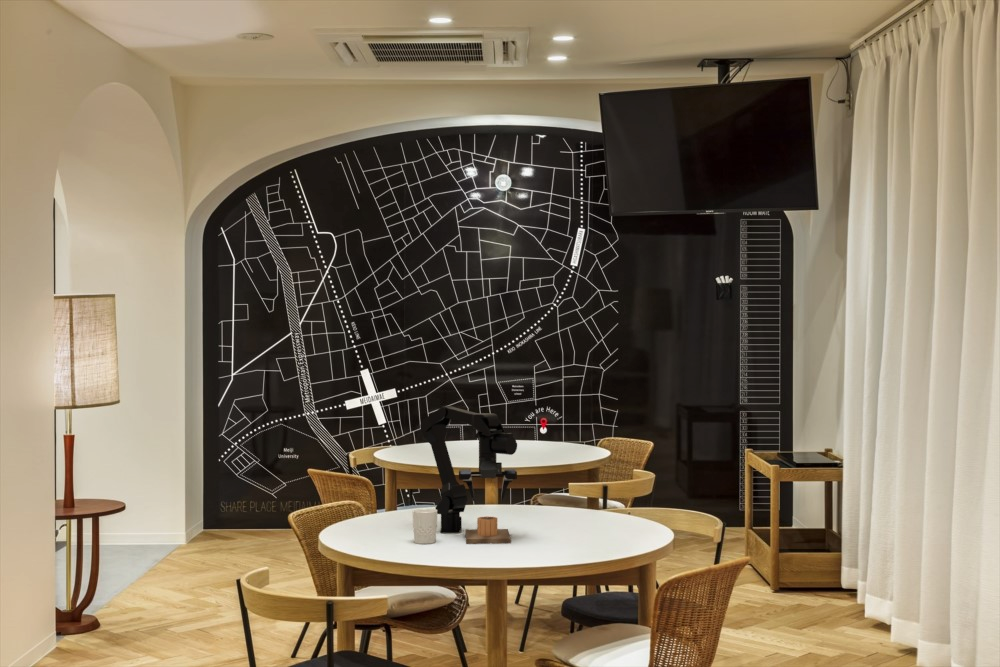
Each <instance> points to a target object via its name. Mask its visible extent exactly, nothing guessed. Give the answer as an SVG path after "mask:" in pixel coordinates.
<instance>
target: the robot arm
mask: <svg viewBox="0 0 1000 667" xmlns="http://www.w3.org/2000/svg"><path fill="white" fill-rule="evenodd" d="M452 420H453V421H455V422H457V423H463V424H466V425H468V426H471V427H472V428H473V429H475V430H476V431H477V433H475V434H474V435H473V438H474V439H478V470H477V471H476V470H474V471H472V470H471V469H472V468H460V469H459V470H458V480H459V481H460V480H461V481H462V483H461V484H460V483H459V482H458V481H457V478H456V474H455V471H454V468H453V464H452V461H451V458H450V454H449V451H448V446H447V443H446V437H447V434H448V433H447V432H448V431H447V427H448V425H450V424H451V422H452ZM419 426H420V432H421V434H422V436H423V438H424V439H425V440H426V441H427V442H428V443H429V444H430V447H431V450H432V454H433V458H434V460H435V464H436V467H437V470H438V471H437V472H438V474H439V478H440V481H441V489H440V501H439V502H438V504H437V505H436V506H435V508H434V509H436V510H437V515H440V533H441V534H448V533H449V534H452V533H454V534H455V533H456V534H457V533H459V534H460V533H461V531H462V528H463V527H462V516H460V514H461V513H464V511H465V508H466V505H467V502H468V497H469V495H468V492H467V491H466V485H467V487H468V489H469V493H470V495H471V499H472V502H475V492H474V485H473V479H472V478H480V479H496V478H501V477H502V486H501V494H500V495H501V497H500V500H501V502H503V501H504V497H505V495H506V491H507V488H508V486H509V485H510V483H513V481H514V480H517V478H518V471H517V470H516V469H515V468H504V469H503V466H502V465H503V464H502V462H497V454H498V455H507V456H508V455H509V456H510V455H511V456H512V455H514V454H515V453H516V451H517V449H518V443H517V441H516V440H517V439H516V438H515V437H514V435H513V434H514V433H513V432H508V433H507V432H506V430H505V428H504V426H503V424H502V423H501V421H500V419H499V417H498V415H497V414H496V413H492V412H491V413H490V412H489V413H487V412H486V413H484V412H481V413H479V412H478V413H477V412H474V411H471V410H466V409H462V408H458V407H455V406H453V405H443V406H441V407H439V408H438V409H437V410H436V411H434V412H433V413H431V414H430V415H427V417H425V418H423V419H422V420H421V423H420V425H419ZM502 469H503V470H502ZM464 483H466V485H465V484H464Z"/></svg>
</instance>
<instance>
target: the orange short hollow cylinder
mask: <svg viewBox="0 0 1000 667" xmlns="http://www.w3.org/2000/svg"><path fill="white" fill-rule="evenodd" d="M484 518H491V519H489V520H485V519H484ZM476 519H477V520H476V522H477V523H476V524H477V525H476V526H477V534H478V535H482V536H492V535H497V529H498V517H495V516H480V517H477V518H476Z"/></svg>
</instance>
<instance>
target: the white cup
mask: <svg viewBox="0 0 1000 667" xmlns="http://www.w3.org/2000/svg"><path fill="white" fill-rule="evenodd" d="M412 528H413V541H414V543H415V544H419V545H432V544H434V543H436V541H437V528H438V514H437V510H436V509H435V508H416V509H412Z"/></svg>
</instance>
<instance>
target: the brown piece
mask: <svg viewBox="0 0 1000 667" xmlns="http://www.w3.org/2000/svg"><path fill="white" fill-rule="evenodd" d="M484 519H485V520H489V519H491V518H484ZM490 543H492V544H512V538H511V535H510V531H509V529H508V528H497V535H492V536H482V535H478V534H477V529H476V528H475V529H473V528H472V529H465V544H466V545H471V544H472V545H473V544H475V545H476V544H478V545H479V544H480V545H481V544H482V545H483V544H487V545H488V544H490Z"/></svg>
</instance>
